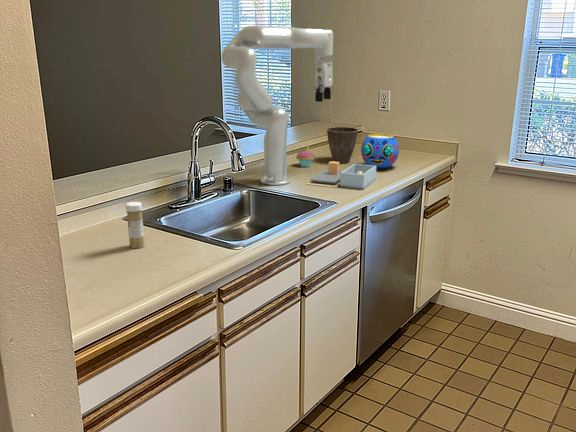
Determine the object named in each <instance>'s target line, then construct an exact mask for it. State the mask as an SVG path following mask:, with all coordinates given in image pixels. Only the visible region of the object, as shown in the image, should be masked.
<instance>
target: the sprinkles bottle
mask: <svg viewBox="0 0 576 432" xmlns="http://www.w3.org/2000/svg"><path fill="white" fill-rule="evenodd" d="M125 210H126V215H127V216H126V218H127V226H128V227H127V229H128V231H127V232H128V238H129V247H130V248H132V249H138V248H139V249H140V248H144V246H145V237H144V236H145V232H144V222H143V221H144V220H143V213H142V212H143V211H142V210H143V205H142V202H140V201H129V202H126V203H125Z"/></svg>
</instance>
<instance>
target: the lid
mask: <svg viewBox="0 0 576 432" xmlns="http://www.w3.org/2000/svg"><path fill="white" fill-rule="evenodd" d="M340 165H341V163H340V162H334V161H329V162H328V169H326V170H324V171H322V172H320V173H318V174H317V175H316V176H314V177H312V178H311V179H309V180H310V181H317V182H319V183H328V184H333V183H336V182H338V181H339V180H340V173H341V172H342V171H343V170H340V169H341V168H340ZM310 181H309V182H310Z"/></svg>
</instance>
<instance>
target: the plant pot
mask: <svg viewBox="0 0 576 432" xmlns="http://www.w3.org/2000/svg"><path fill="white" fill-rule="evenodd" d="M326 133H327V141H328V147H329V150H330V153H331V158H332V160H333V161H334V162H340V165H341V164H342V165H343V164H348V163H350V161H351V158H352V155H353V152H354V150H355V146H356V143H357V137H358V133H359V129H358V128H355V127H347V126H346V127H344V126H335V127H334V126H332V127H329V128H327V129H326Z"/></svg>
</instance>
